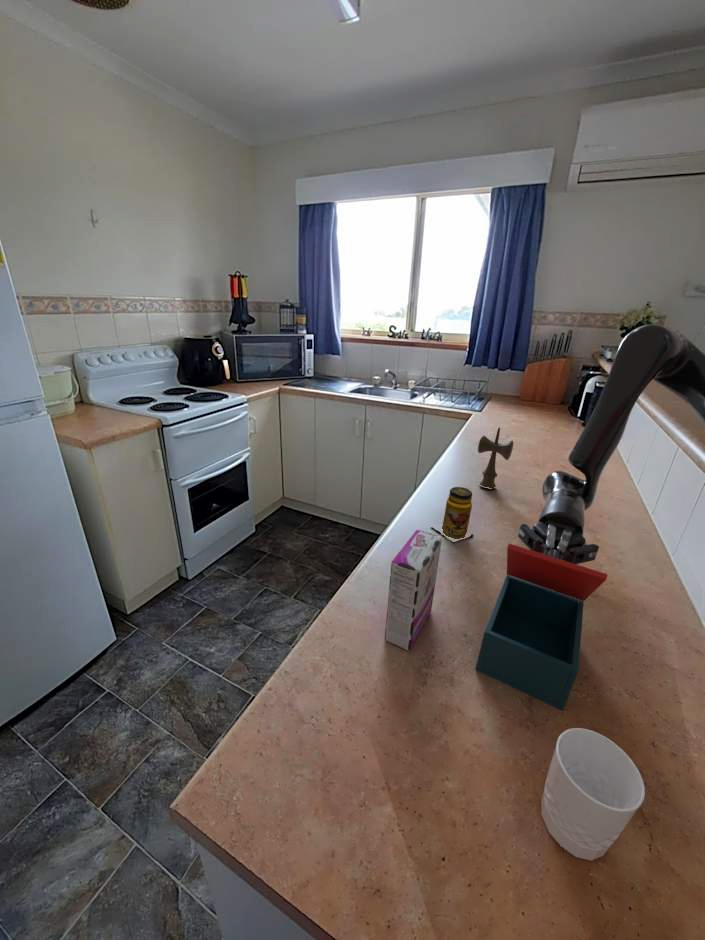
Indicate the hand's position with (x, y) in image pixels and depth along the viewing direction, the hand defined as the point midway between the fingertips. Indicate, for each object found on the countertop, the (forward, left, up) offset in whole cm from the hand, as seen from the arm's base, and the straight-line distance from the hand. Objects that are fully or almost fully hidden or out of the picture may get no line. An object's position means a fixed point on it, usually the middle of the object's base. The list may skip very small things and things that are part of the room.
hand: (550, 566), depth 62 cm
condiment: (-14, -33, -16) cm, 39 cm away
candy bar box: (+16, -13, -16) cm, 26 cm away
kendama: (-44, -48, -16) cm, 67 cm away
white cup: (+18, +19, -16) cm, 31 cm away
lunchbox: (+2, +1, -16) cm, 16 cm away
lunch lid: (0, 0, -2) cm, 2 cm away
